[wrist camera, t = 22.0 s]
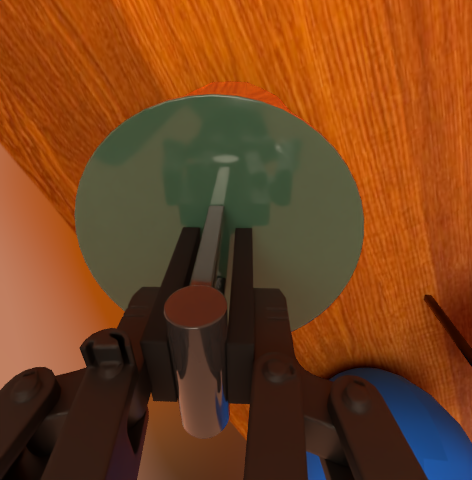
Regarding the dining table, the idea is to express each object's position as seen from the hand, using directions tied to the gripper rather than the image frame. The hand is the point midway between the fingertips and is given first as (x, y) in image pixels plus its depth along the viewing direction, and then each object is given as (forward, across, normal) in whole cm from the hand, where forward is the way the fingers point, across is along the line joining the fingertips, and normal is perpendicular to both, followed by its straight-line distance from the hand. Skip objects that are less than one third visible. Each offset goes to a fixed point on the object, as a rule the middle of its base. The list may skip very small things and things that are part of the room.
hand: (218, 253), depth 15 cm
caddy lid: (+1, 0, 0) cm, 1 cm away
